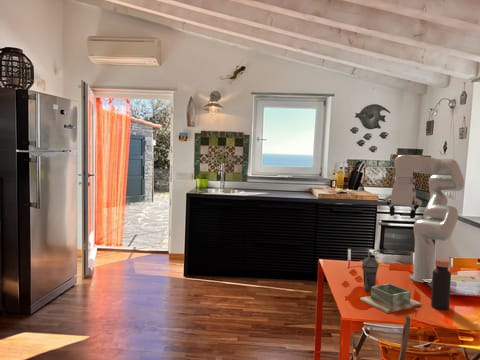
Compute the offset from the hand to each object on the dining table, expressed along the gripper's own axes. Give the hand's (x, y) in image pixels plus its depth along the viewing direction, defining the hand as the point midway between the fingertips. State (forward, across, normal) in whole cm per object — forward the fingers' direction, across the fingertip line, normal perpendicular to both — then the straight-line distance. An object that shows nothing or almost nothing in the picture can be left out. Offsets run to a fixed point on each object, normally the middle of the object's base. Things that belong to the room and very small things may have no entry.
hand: (402, 217), depth 174 cm
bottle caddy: (+35, -5, +19) cm, 40 cm away
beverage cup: (+36, +9, +11) cm, 38 cm away
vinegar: (+35, -21, +7) cm, 42 cm away
